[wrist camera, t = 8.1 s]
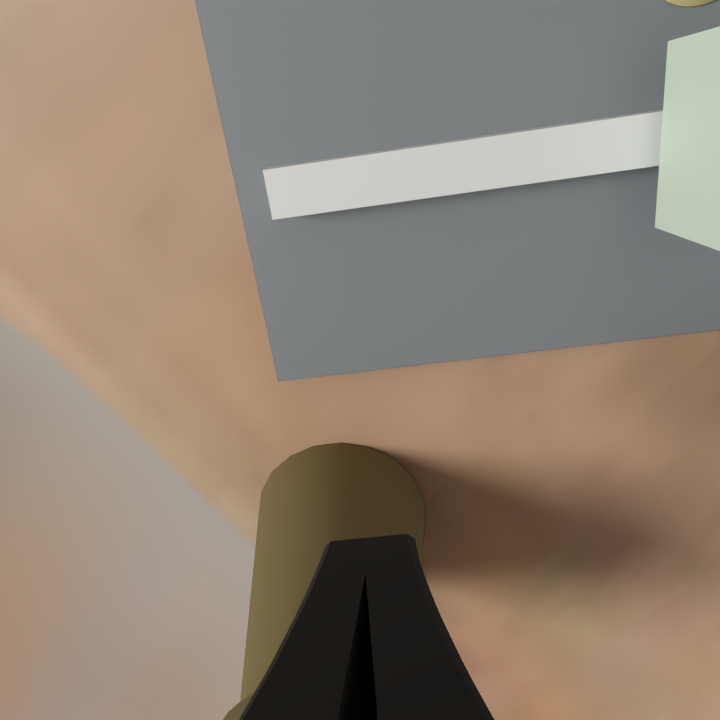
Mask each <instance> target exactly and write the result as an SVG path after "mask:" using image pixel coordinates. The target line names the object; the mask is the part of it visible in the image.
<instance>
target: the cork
mask: <svg viewBox="0 0 720 720" xmlns="http://www.w3.org/2000/svg"><path fill="white" fill-rule="evenodd" d="M424 529H425V510H424V502H423V495H422V493H421V491H420V489H419V487H418V486H417V484H416V482H415V480H414V478H413V476H412V475H411V474H410V473H409V472H408V471H407V470H406V469H405V468H403V467H402V466H401V465H400V464H399V463H398V462H397V461H396V460H395V459H393V458H392V457H389V456H387V455H385V454H383V453H381V452H379V451H376V450H374V449H372V448H370V447H365V446H359V445H352V444H346V443H336V444H327V445H318V446H313V447H311V448H308V449H306V450H304V451H301V452H299V453H297V454H294V455H292V456H290V457H289V458H288V459H287V460H285V461H284V462H283V463H282V464H281V465H280V466H278V467H277V468H276V469H275V470H274V471H273V472H272V473H271V475H270V477H269V479H268V481H267V482H266V484H265V486H264V488H263V490H262V492H261V501H260V509H259V519H258V529H257V539H256V549H255V559H254V569H253V579H252V589H251V600H250V610H249V619H248V631H247V640H246V650H245V660H244V671H243V680H242V690H241V700H240V702H239V703H238V704H237V705H236V706H235V707H234V708H232V709H231V710H230V711H229V712H228V714H227V715H226V716H225V718H224V719H223V720H239V719H240V717H241V715H242V713H243V712H244V710H245V708H246V706H247V705H248V703H249V701H250V700H251V698H252V696H253V694H254V693H255V691H256V689H257V687H258V686H259V684H260V682H261V681H262V679H263V677H264V675H265V674H266V672H267V670H268V668H269V666H270V664H271V663H272V661H273V659H274V657H275V655H276V653H277V651H278V649H279V647H280V645H281V643H282V641H283V639H284V637H285V635H286V633H287V631H288V629H289V627H290V625H291V624H292V622H293V620H294V618H295V616H296V613H297V611H298V609H299V607H300V605H301V603H302V601H303V599H304V596H305V594H306V592H307V590H308V588H309V585H310V583H311V581H312V579H313V576H314V574H315V571H316V569H317V567H318V564H319V562H320V559H321V556H322V554H323V551H324V548H325V547H326V546H327V545H328V543H329V542H330V541H336V540H347V539H357V538H368V537H379V536H389V535H400V534H409V535H410V536H412V537H413V538H414V539H415V540H416V547H417V552H418V556H419V560H420V563H421V566H422V559H423V544H424Z"/></svg>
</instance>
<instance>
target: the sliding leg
mask: <svg viewBox="0 0 720 720" xmlns="http://www.w3.org/2000/svg"><path fill="white" fill-rule="evenodd" d="M655 228H658V229H660V230H663V231H666V232H669V233H671V234H674V235H677V236H679V237H682V238H685V239H688V240H690V241H693V242H696V243H699V244H701V245H704V246H707V247H710V248H712V249H715V250H718V251H720V26H719V27H716V28H712V29H709V30H705V31H702V32H698V33H695V34H691V35H688V36H684V37H681V38H677V39H674V40H670V41H668V46H667V60H666V74H665V88H664V103H663V117H662V131H661V146H660V160H659V174H658V188H657V203H656V217H655Z"/></svg>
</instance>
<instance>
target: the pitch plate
mask: <svg viewBox="0 0 720 720" xmlns="http://www.w3.org/2000/svg"><path fill="white" fill-rule="evenodd" d="M195 4H196V8H197V13H198V17H199V22H200V27H201V31H202V36H203V40H204V45H205V49H206V54H207V59H208V63H209V68H210V72H211V77H212V81H213V86H214V91H215V95H216V100H217V104H218V109H219V113H220V118H221V123H222V127H223V132H224V136H225V141H226V145H227V150H228V155H229V159H230V164H231V168H232V173H233V177H234V182H235V187H236V191H237V196H238V200H239V205H240V209H241V214H242V219H243V223H244V228H245V232H246V237H247V241H248V246H249V251H250V255H251V260H252V264H253V269H254V273H255V278H256V283H257V287H258V292H259V296H260V301H261V305H262V310H263V315H264V319H265V324H266V328H267V333H268V337H269V342H270V347H271V351H272V356H273V360H274V365H275V369H276V374H277V379H278V381H287V380H295V379H304V378H312V377H321V376H329V375H338V374H346V373H355V372H364V371H372V370H381V369H389V368H398V367H406V366H415V365H423V364H432V363H440V362H449V361H457V360H466V359H474V358H483V357H491V356H500V355H509V354H517V353H526V352H534V351H543V350H551V349H560V348H568V347H577V346H585V345H594V344H602V343H611V342H619V341H628V340H636V339H645V338H654V337H662V336H671V335H679V334H688V333H696V332H705V331H713V330H720V251H718V250H715V249H712V248H710V247H707V246H704V245H701V244H699V243H696V242H693V241H690V240H688V239H685V238H682V237H679V236H677V235H674V234H671V233H669V232H666V231H663V230H660V229H658V228H655V217H656V203H657V188H658V174H659V160H660V146H661V131H662V117H663V103H664V88H665V74H666V60H667V46H668V41H670V40H674V39H677V38H681V37H684V36H688V35H691V34H695V33H698V32H702V31H705V30H709V29H712V28H716V27H719V26H720V0H195Z"/></svg>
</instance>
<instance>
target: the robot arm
mask: <svg viewBox="0 0 720 720" xmlns="http://www.w3.org/2000/svg"><path fill="white" fill-rule="evenodd" d="M239 720H494V718H493V717H492V715H491V713H490V711H489V710H488V708H487V706H486V704H485V702H484V701H483V699H482V697H481V695H480V693H479V692H478V690H477V688H476V686H475V684H474V683H473V681H472V679H471V677H470V675H469V673H468V671H467V669H466V667H465V665H464V663H463V662H462V660H461V657H460V655H459V653H458V651H457V649H456V647H455V645H454V643H453V641H452V639H451V637H450V635H449V633H448V631H447V628H446V626H445V624H444V622H443V620H442V618H441V616H440V613H439V611H438V609H437V606H436V604H435V602H434V599H433V597H432V594H431V592H430V589H429V586H428V584H427V581H426V578H425V576H424V573H423V570H422V566H421V563H420V560H419V556H418V552H417V547H416V540H415V539H414V538H413V537H412V536H410V535H409V534H400V535H389V536H379V537H368V538H357V539H347V540H336V541H330V542H329V543H328V545H327V546H326V547H325V548H324V551H323V554H322V556H321V559H320V562H319V564H318V567H317V569H316V571H315V574H314V576H313V579H312V581H311V583H310V585H309V588H308V590H307V592H306V594H305V596H304V599H303V601H302V603H301V605H300V607H299V609H298V611H297V613H296V616H295V618H294V620H293V622H292V624H291V625H290V627H289V629H288V631H287V633H286V635H285V637H284V639H283V641H282V643H281V645H280V647H279V649H278V651H277V653H276V655H275V657H274V659H273V661H272V663H271V664H270V666H269V668H268V670H267V672H266V674H265V675H264V677H263V679H262V681H261V682H260V684H259V686H258V687H257V689H256V691H255V693H254V694H253V696H252V698H251V700H250V701H249V703H248V705H247V706H246V708H245V710H244V712H243V713H242V715H241V717H240V719H239Z"/></svg>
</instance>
